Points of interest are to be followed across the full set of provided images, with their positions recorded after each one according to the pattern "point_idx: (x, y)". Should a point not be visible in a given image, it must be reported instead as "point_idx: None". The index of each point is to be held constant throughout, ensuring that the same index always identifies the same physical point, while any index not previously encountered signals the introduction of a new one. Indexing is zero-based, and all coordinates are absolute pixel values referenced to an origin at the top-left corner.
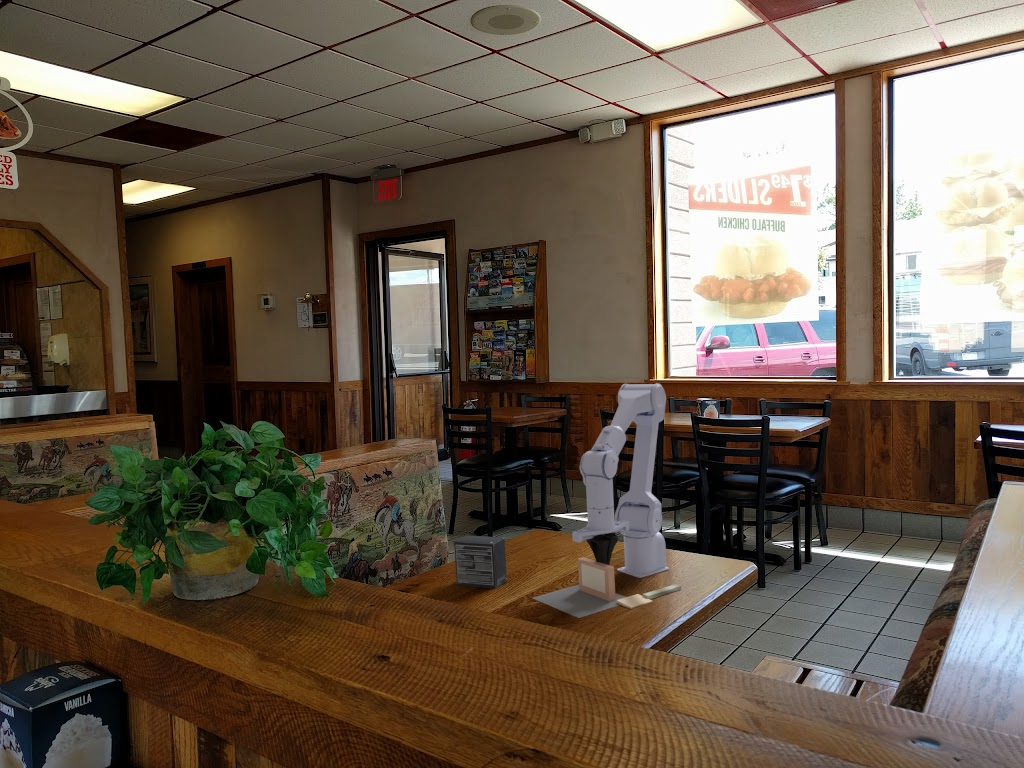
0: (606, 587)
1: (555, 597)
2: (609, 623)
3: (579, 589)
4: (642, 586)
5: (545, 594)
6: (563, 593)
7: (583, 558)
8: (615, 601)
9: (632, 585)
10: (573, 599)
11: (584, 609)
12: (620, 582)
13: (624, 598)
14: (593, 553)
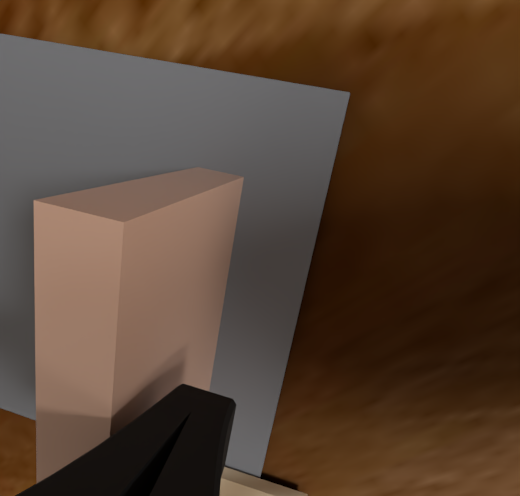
0: None
1: (20, 136)
2: (20, 492)
3: (196, 167)
4: (507, 439)
5: (9, 41)
6: (92, 126)
7: (86, 257)
8: None
9: (494, 381)
10: None
11: (23, 364)
12: (516, 286)
13: None
14: (45, 479)
